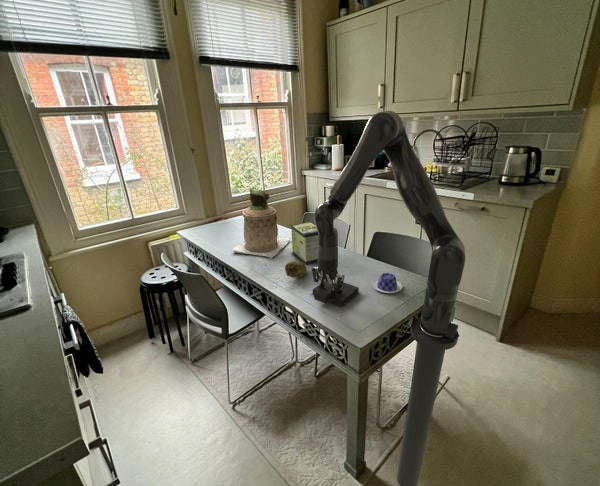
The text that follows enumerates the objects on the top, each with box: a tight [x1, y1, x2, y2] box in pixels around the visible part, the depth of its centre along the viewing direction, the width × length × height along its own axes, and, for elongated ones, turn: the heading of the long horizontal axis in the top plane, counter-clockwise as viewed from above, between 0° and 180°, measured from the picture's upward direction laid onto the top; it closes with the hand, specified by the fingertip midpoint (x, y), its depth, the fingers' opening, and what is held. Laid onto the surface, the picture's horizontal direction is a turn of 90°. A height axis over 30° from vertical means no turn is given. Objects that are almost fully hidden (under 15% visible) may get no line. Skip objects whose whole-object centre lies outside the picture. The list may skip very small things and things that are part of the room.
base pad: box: [312, 280, 360, 307], centre depth 127 cm, size 14×12×2 cm
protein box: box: [290, 221, 318, 265], centre depth 157 cm, size 10×16×16 cm
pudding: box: [371, 272, 403, 294], centre depth 129 cm, size 12×12×5 cm
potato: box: [284, 260, 308, 278], centre depth 140 cm, size 8×13×8 cm, turn 131°
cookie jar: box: [231, 189, 290, 259], centre depth 166 cm, size 25×25×32 cm
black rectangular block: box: [314, 283, 340, 304], centre depth 122 cm, size 5×10×3 cm, turn 140°
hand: (327, 294), depth 122 cm, fingers closed on black rectangular block, 5 cm apart
